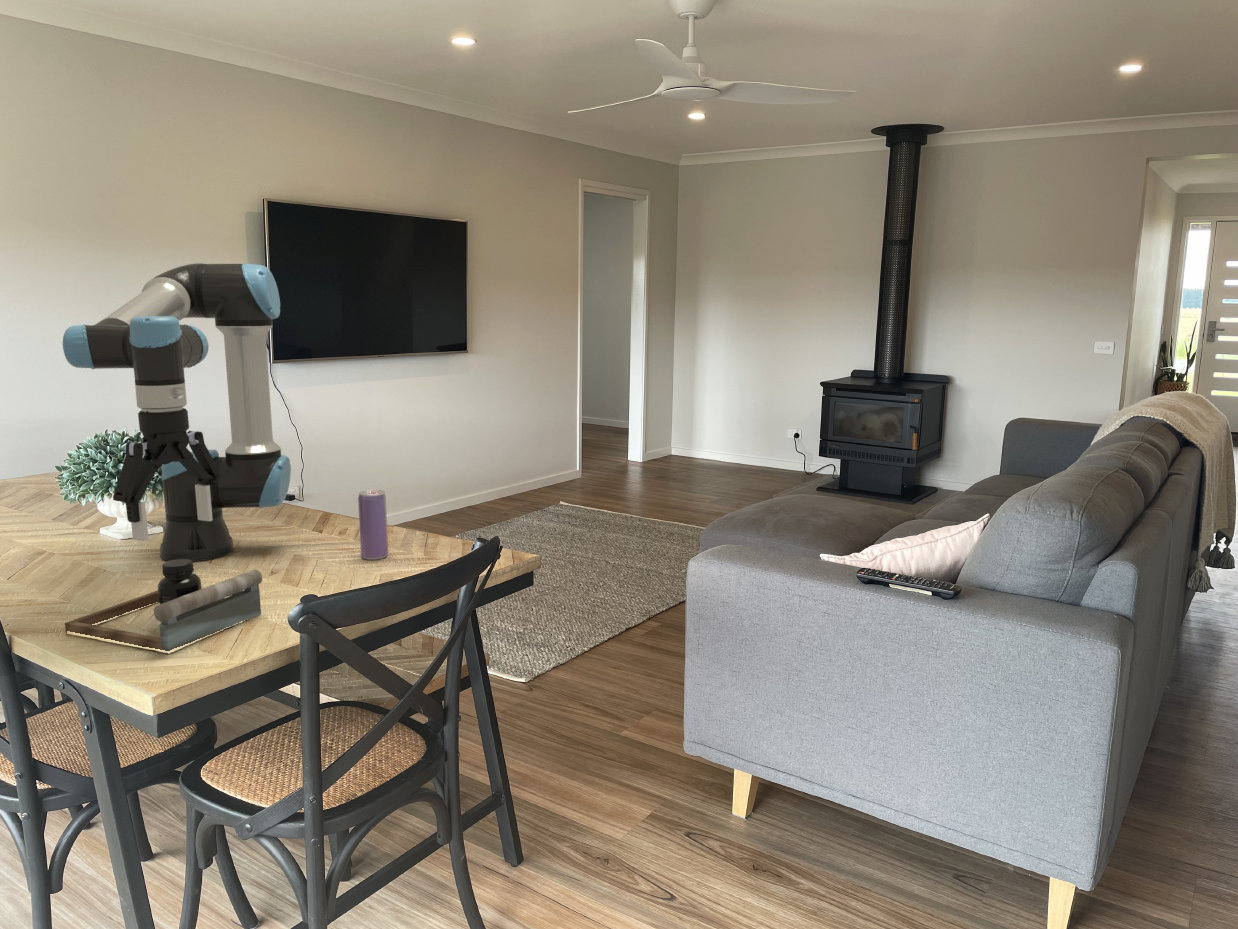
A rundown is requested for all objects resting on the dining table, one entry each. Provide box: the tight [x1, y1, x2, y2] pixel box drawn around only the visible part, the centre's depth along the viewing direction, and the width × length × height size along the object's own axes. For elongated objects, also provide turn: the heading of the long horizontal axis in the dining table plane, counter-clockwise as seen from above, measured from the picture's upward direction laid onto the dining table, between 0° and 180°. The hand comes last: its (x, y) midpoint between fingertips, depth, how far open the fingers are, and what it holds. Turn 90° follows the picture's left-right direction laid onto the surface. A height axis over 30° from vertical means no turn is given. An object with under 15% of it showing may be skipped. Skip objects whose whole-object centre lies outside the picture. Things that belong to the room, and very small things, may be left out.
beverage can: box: [357, 489, 389, 561], centre depth 198 cm, size 6×6×15 cm
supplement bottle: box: [157, 559, 204, 617], centre depth 154 cm, size 7×7×12 cm
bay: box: [64, 569, 263, 651], centre depth 156 cm, size 24×21×8 cm
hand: (174, 529), depth 153 cm, fingers open, 13 cm apart
